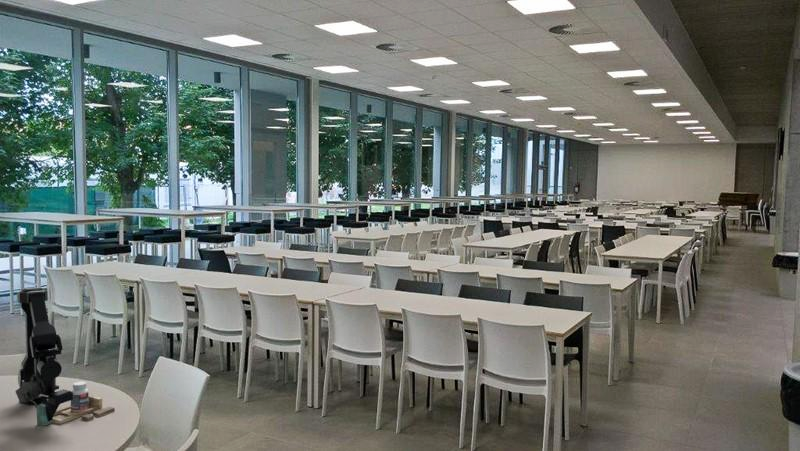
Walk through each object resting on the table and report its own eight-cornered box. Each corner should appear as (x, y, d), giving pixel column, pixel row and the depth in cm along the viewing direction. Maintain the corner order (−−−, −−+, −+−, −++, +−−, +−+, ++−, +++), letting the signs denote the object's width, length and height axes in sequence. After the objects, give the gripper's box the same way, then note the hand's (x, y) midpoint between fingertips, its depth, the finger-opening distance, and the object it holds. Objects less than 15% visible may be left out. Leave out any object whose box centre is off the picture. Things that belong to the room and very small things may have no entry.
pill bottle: (80, 413, 206) (80, 386, 205) (67, 411, 207) (66, 385, 207) (92, 407, 211) (91, 381, 210) (78, 406, 212) (78, 380, 212)
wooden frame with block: (30, 422, 199) (30, 403, 198) (84, 403, 216) (83, 386, 215) (49, 427, 195) (49, 408, 194) (102, 408, 212) (102, 390, 211)
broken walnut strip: (81, 419, 202) (81, 416, 202) (108, 409, 211) (108, 406, 211) (88, 420, 201) (88, 417, 201) (114, 410, 210) (114, 408, 210)
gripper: (0, 373, 194) (2, 422, 195) (40, 383, 186) (41, 434, 187) (35, 364, 204) (36, 411, 205) (74, 373, 196) (75, 421, 197)
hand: (46, 419), depth 198 cm, fingers closed on wooden frame with block, 3 cm apart
